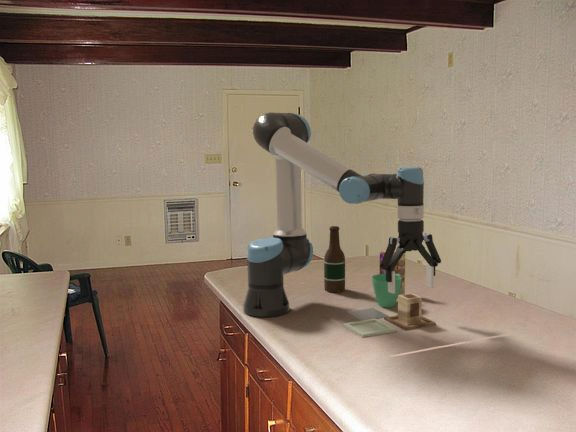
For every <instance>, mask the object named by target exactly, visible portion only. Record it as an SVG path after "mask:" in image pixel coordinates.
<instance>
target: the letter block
mask: <svg viewBox="0 0 576 432" xmlns="http://www.w3.org/2000/svg"><path fill="white" fill-rule="evenodd" d="M422 299H423V298H422V296H419V295H417V294H414V293H412V292H411V293H405V294H404V295H398V298H397V315H398V321H399V322H401V323H403V324H405V325H407V326H408V325H414V324H420V323H421V316H422V309H423V308H422V306H423V305H422V302H423V301H422Z"/></svg>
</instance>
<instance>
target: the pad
mask: <svg viewBox="0 0 576 432" xmlns="http://www.w3.org/2000/svg"><path fill="white" fill-rule="evenodd" d="M345 312H346V313H347V314H349V315H350V316H351V317H354V318H356V320H358V321H362V320H369V319H375V318H376V319H378V320H379V319H384V317H388V316H389V315H388V314H386V313H384V312H382V311H380V310H378V309H376V308H375V307H370V308H364V309H357V310H351V311H345Z"/></svg>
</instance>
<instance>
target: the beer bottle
mask: <svg viewBox="0 0 576 432" xmlns="http://www.w3.org/2000/svg"><path fill="white" fill-rule="evenodd" d="M328 243H329V245H328V249H327V250H326V252H325V253H324V256H323V257H324V259H323V260H324V261H323V275H324V276H323V277H324V278H323V282H324V283H323V284H324V291H326V292H327V293H334V294H335V293H343V292H344V291H345V290H346V256H345V253H344V251H343V250H342V248H341V243H340V226H337V225H333V226H332V225H331V226H330V227H329V242H328Z"/></svg>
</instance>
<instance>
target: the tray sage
mask: <svg viewBox="0 0 576 432" xmlns="http://www.w3.org/2000/svg"><path fill="white" fill-rule="evenodd" d="M343 328H344V329H346V330H347V331H350V332H351V333H352V334H354V335H356V336H358V337H359V338H361V339H362V338H366V337H373V336H377V335H385V334H389V333H396V331H397V329H396V328H394V327H392V326H390V325H389V324H388V323H385V322H383V321H381V320H379V319H376V318H375V319H369V320H362V321H361V320H357V321H350V322H344V323H343Z"/></svg>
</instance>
